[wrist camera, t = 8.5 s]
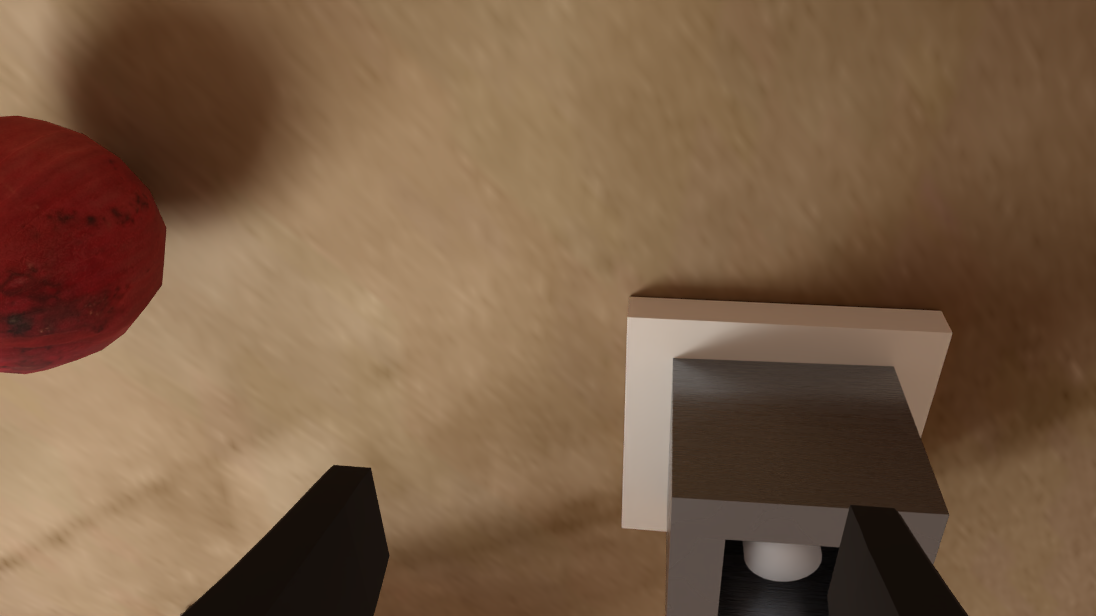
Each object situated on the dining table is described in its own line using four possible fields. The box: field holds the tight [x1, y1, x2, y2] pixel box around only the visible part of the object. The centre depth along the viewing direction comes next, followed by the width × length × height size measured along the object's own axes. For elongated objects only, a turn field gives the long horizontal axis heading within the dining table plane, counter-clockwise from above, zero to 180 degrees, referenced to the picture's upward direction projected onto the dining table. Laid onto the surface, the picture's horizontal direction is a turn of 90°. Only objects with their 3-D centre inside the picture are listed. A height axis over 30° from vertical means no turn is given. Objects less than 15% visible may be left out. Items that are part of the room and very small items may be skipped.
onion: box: [0, 116, 166, 374], centre depth 18 cm, size 6×6×8 cm
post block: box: [622, 297, 952, 582], centre depth 21 cm, size 8×8×5 cm
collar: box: [665, 358, 949, 616], centre depth 20 cm, size 6×6×5 cm
